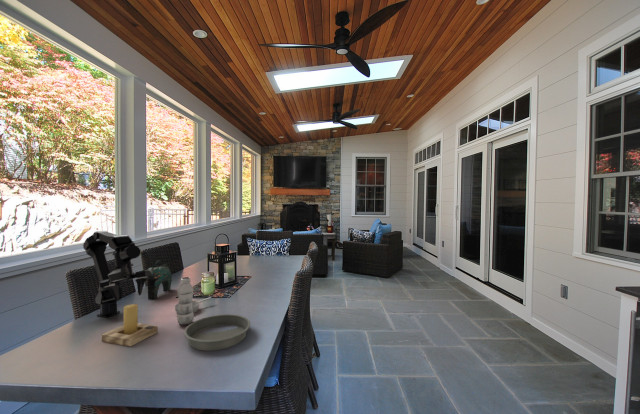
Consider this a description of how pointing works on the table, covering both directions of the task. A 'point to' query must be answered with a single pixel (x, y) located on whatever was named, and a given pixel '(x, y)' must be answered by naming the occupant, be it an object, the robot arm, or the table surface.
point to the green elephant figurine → (158, 280)
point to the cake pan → (217, 338)
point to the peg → (130, 319)
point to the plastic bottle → (185, 302)
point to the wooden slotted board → (129, 340)
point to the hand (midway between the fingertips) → (128, 298)
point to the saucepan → (194, 304)
